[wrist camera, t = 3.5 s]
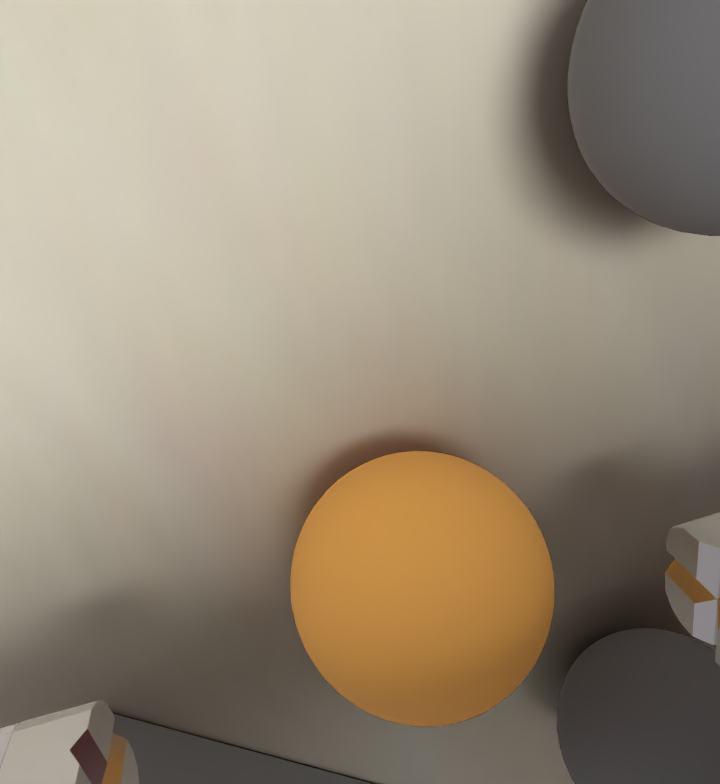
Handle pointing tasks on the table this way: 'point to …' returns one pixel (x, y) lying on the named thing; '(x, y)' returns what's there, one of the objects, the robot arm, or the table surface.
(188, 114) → the table surface
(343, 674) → the orange ball
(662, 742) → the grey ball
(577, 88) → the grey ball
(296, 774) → the grey square frame
